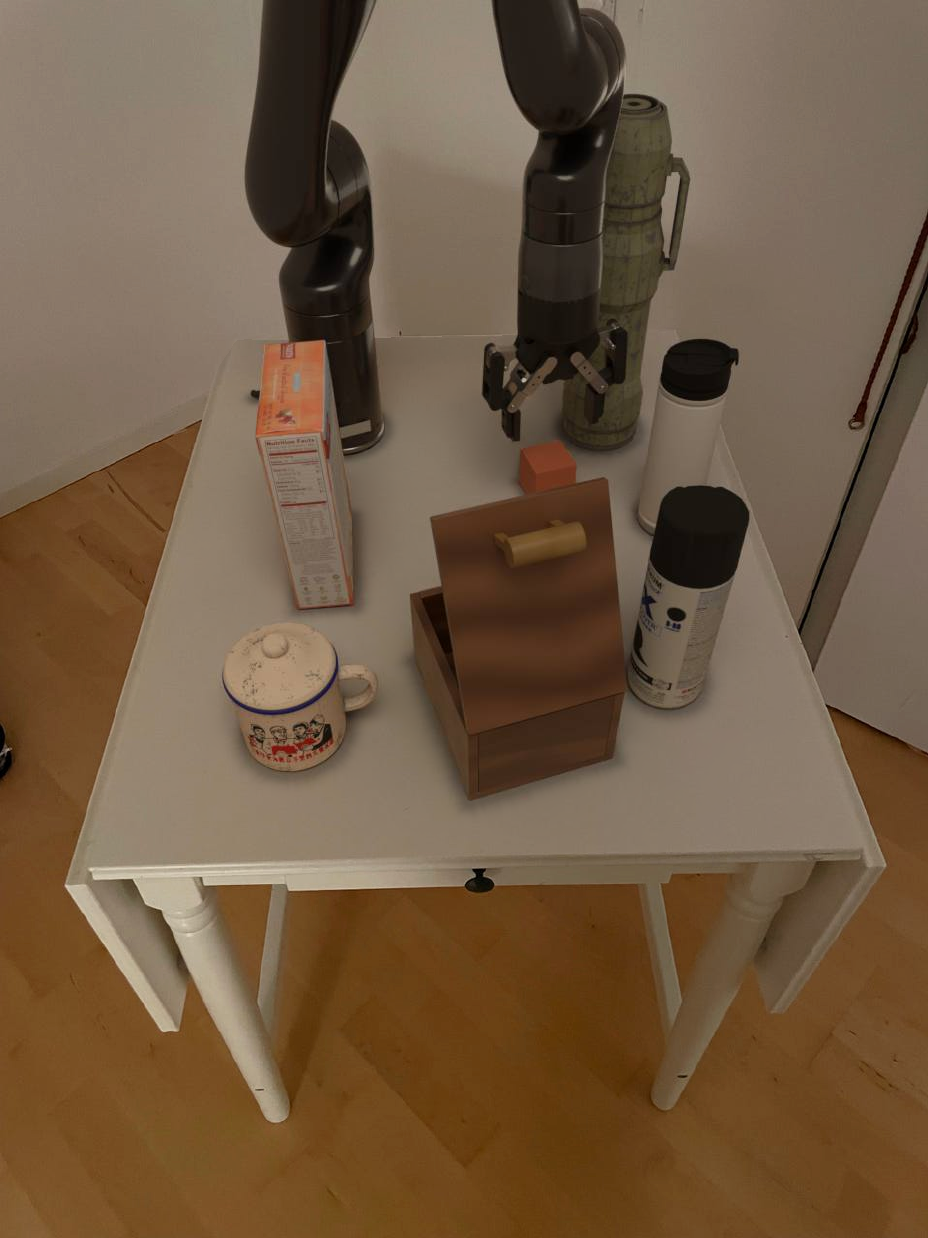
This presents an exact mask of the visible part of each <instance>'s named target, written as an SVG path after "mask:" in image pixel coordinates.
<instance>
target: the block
mask: <svg viewBox="0 0 928 1238" xmlns="http://www.w3.org/2000/svg"><path fill="white" fill-rule="evenodd" d="M577 467H578V464H577V462H576V461H575V459H574V458H573V456H572V455H571V454H570V452H569V451H568V449H567V448H566V447H565V445H564V443H563V442H562V440H561V439H558V440H554V441H553V440H552V441H549V442H544V443H540V444H535V445H531V446H526V447H521V448H520V451H519V480H518V482H519V483H518V484H520V486H521V488H522V490H523V491H524V493H525V495H527V494H531V493H536V492H540V491H544V490H549V489H553V488H557V487H562V486H566V485H571V484H575V483H576V479H577Z"/></svg>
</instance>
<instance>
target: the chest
mask: <svg viewBox="0 0 928 1238" xmlns="http://www.w3.org/2000/svg"><path fill="white" fill-rule="evenodd" d="M409 604H410V615H411V617H410V618H411V627H412V628H411V629H412V639H413V640H412V641H413V650H414V651H413V653H414V662H415V664H416V667H417V669H418V672H419V674H420V677H421V680H422V681H423V685H424V688H425V690H426V693H427V696H428V698H429V700H430V703H431V705H432V708H433V710H434V714H435V716H436V718H437V721H438V723H439V726H440V729H441V731H442V734H443V736H444V739H445V742H446V744H447V747H448V750H449V752H450V754H451V757H452V760H453V763H454V765H455V767H456V770H457V772H458V775H459V778H460V781H461V783H462V785H463V788H464V790H465V793H466V796H467V798H468V801H473V800H476V799H480V798H483V797H487V796H490V795H493V794H496V793H500V792H504V791H507V790H511V789H514V788H517V787H521V786H523V785H527V784H530V783H534V782H536V781H540V780H544V779H547V778H551V777H554V776H557V775H561V774H563V773H567V772H571V771H575V770H577V769H581V768H583V767H588V766H590V765H594V764H597V763H600V762H604V761H607V760H610V759H613V758H614V752H615V747H616V741H617V735H618V732H619V724H620V720H621V714H622V709H623V702H624V697H625V692H622V693H618V694H614V695H611V696H607V697H604V698H600V699H597V700H593V701H590V702H586V703H583V704H579V705H576V706H572V707H568V708H565V709H561V710H558V711H554V712H551V713H547V714H544V715H540V716H537V717H533V718H530V719H526V720H522V721H519V722H515V723H512V724H508V725H505V726H501V727H498V728H494V729H491V730H487V731H483V732H480V733H476V734H473V735H469V734H468V732H467V731H466V725H465V720H464V714H463V708H462V702H461V696H460V690H459V685H458V679H457V673H456V667H455V661H454V656H453V650H452V644H451V638H450V632H449V627H448V621H447V615H446V609H445V603H444V597H443V592H442V586H441V585H440V586H436V587H432V588H428V589H424V590H420V591H415V592H412V593H409Z"/></svg>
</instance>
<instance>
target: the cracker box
mask: <svg viewBox="0 0 928 1238" xmlns="http://www.w3.org/2000/svg"><path fill="white" fill-rule="evenodd" d="M259 390H260V397H259V400H258V405H257V407H258V408H257V416H256V426H255V436H254V437H255V441H256V445H257V449H258V454H259V457H260V460H261V465H262V469H263V474H264V478H265V482H266V485H267V490H268V494H269V498H270V502H271V505H272V510H273V514H274V518H275V519H274V520H275V522H276V528H277V531H278V535H279V540H280V544H281V548H282V552H283V556H284V559H285V565H286V570H287V573H288V577H289V581H290V585H291V588H292V593H293V598H294V602H295V605H296V609H297V610H304V609H305V610H308V609H317V608H318V609H319V608H330V607H342V606H343V607H344V606H353V605H354V604H355V588H354V587H355V586H354V585H355V584H354V546H353V543H354V542H353V540H354V539H353V510H352V502H351V495H350V490H349V483H348V477H347V471H346V470H347V469H346V464H345V458H344V454H343V451H342V445H341V438H340V432H339V425H338V419H337V412H336V406H335V399H334V393H333V386H332V380H331V373H330V367H329V361H328V355H327V349H326V343H325V340H318V341H306V342H295V343H289V342H282V343H270V344H264V345H263V356H262V365H261V377H260V387H259Z"/></svg>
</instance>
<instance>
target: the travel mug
mask: <svg viewBox="0 0 928 1238" xmlns="http://www.w3.org/2000/svg"><path fill="white" fill-rule="evenodd" d="M739 361H740V352H739V349H738V348H736V347H731V346H729V345H728V344H726V343H725V342H723V341H720V340H715V339H711V338H693V339H687V340H683V341H679V342H677V343H674V344H673V345H672V346H670V347H669V348H668V350H666V353H665V354H664V356H663V360H662V367H661V372H660V375H659V380H658V386H657V392H656V393H657V394H656V398H655V404H654V409H653V410H654V411H653V418H652V423H651V428H650V434H649V435H650V436H649V441H648V447H647V453H646V460H645V464H644V465H645V466H644V472H643V478H642V485H641V491H640V497H639V504H638V509H637V521H638V523H639V525H640V527H641V528H642V529H643V530H644V531H645V532H646V533H648V534H651V535H652V536H654V531H655V527H656V523H657V518H658V513H659V508H660V504H661V501H662V499H663V498H664V496H665V495H666V494H667V493H668V492H669V491H670V490H672V489H674V488H675V487H677V486H682V487H684V488H685V487H687V486H697V485H703V486H707V483H708V480H709V476H710V475H709V474H710V472H711V471H710V470H711V466H712V462H713V458H714V453H715V449H716V444H717V440H718V435H719V431H720V427H721V423H722V417H723V414H724V409H725V405H726V400H727V395H728V392H729V386H730V380H731V376H732V367H733V364H734V366H736V367H737V366H738V365H739Z"/></svg>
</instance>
